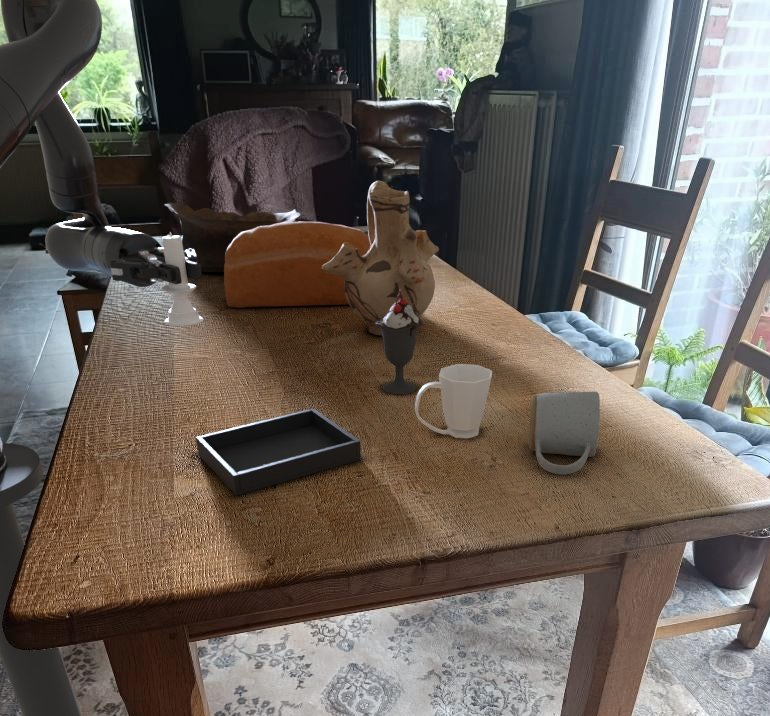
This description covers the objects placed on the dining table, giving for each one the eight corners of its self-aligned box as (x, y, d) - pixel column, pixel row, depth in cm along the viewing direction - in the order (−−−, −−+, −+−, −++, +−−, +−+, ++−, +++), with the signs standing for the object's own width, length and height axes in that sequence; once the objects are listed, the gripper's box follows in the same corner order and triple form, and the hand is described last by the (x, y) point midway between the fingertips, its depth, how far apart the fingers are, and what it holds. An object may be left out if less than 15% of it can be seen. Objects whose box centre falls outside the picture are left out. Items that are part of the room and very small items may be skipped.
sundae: (393, 400, 102) (393, 295, 95) (369, 386, 107) (366, 285, 99) (430, 390, 105) (433, 288, 98) (404, 377, 110) (405, 279, 102)
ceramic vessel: (323, 339, 127) (316, 187, 114) (363, 312, 143) (360, 175, 130) (420, 350, 122) (423, 192, 109) (450, 320, 137) (456, 178, 124)
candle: (159, 320, 101) (144, 231, 95) (195, 314, 104) (183, 227, 98) (172, 329, 98) (157, 237, 91) (209, 323, 100) (197, 233, 94)
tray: (236, 496, 79) (233, 476, 77) (198, 455, 88) (195, 436, 86) (361, 459, 86) (360, 440, 85) (314, 425, 95) (313, 408, 94)
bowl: (191, 258, 198) (186, 200, 191) (309, 264, 197) (309, 206, 191) (149, 275, 167) (143, 205, 160) (290, 282, 166) (289, 213, 160)
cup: (497, 440, 90) (502, 379, 86) (421, 447, 89) (422, 386, 85) (480, 418, 96) (483, 361, 92) (408, 425, 95) (408, 367, 90)
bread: (231, 293, 157) (222, 218, 149) (379, 289, 158) (378, 215, 150) (223, 310, 145) (213, 229, 137) (383, 305, 147) (382, 225, 139)
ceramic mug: (526, 436, 91) (531, 379, 87) (591, 439, 90) (600, 382, 86) (525, 475, 82) (531, 414, 78) (597, 480, 81) (607, 419, 77)
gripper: (77, 235, 100) (135, 252, 89) (166, 224, 108) (229, 238, 98) (88, 290, 104) (146, 312, 93) (173, 275, 112) (235, 293, 101)
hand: (188, 274), depth 95 cm, fingers closed on candle, 2 cm apart
